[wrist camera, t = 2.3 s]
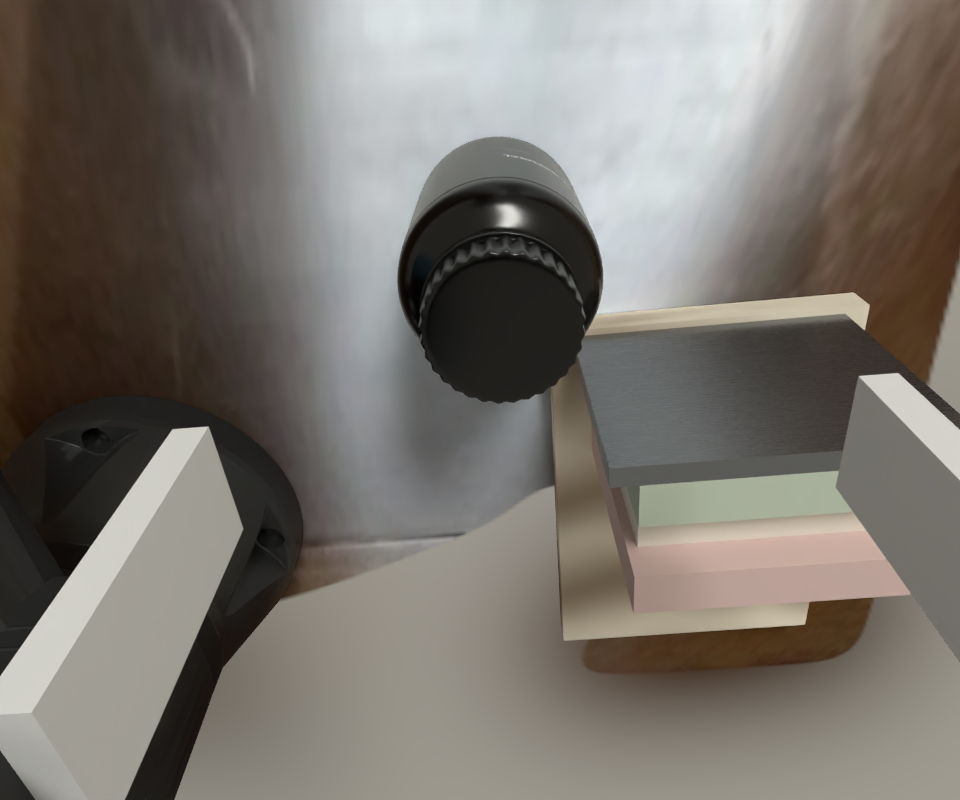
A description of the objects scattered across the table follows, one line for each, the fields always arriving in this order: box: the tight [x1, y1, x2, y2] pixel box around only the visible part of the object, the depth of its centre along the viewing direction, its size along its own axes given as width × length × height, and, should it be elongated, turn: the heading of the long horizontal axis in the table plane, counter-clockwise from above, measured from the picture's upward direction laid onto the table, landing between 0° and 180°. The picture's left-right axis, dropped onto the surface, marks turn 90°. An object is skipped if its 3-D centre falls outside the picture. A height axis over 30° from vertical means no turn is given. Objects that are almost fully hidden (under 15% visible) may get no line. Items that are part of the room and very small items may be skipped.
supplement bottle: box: [398, 137, 603, 403], centre depth 25 cm, size 7×7×12 cm
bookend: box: [576, 314, 960, 488], centre depth 27 cm, size 1×12×10 cm, turn 95°
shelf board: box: [550, 293, 870, 641], centre depth 37 cm, size 20×14×2 cm
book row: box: [592, 425, 912, 614], centre depth 28 cm, size 5×10×10 cm, turn 95°
